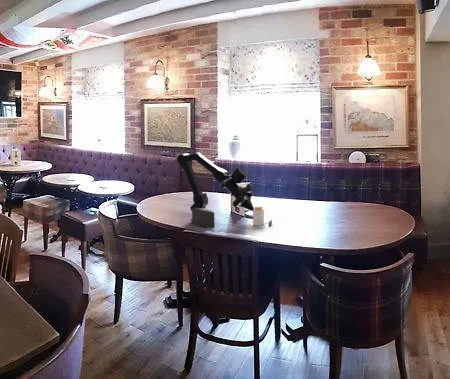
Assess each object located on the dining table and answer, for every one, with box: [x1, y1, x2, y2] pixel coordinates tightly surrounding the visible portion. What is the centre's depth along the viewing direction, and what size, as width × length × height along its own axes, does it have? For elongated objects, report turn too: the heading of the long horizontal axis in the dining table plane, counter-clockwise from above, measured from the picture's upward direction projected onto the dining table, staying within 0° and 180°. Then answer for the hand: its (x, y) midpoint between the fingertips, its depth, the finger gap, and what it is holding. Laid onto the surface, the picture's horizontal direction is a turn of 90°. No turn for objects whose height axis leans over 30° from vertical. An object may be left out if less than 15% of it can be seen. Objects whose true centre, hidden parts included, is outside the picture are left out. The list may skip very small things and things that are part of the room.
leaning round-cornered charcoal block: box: [191, 208, 215, 229], centre depth 215 cm, size 16×5×9 cm, turn 47°
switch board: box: [247, 219, 273, 228], centre depth 215 cm, size 16×11×4 cm
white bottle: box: [252, 205, 265, 226], centre depth 213 cm, size 4×4×10 cm
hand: (254, 210), depth 214 cm, fingers closed, pressing on white bottle
